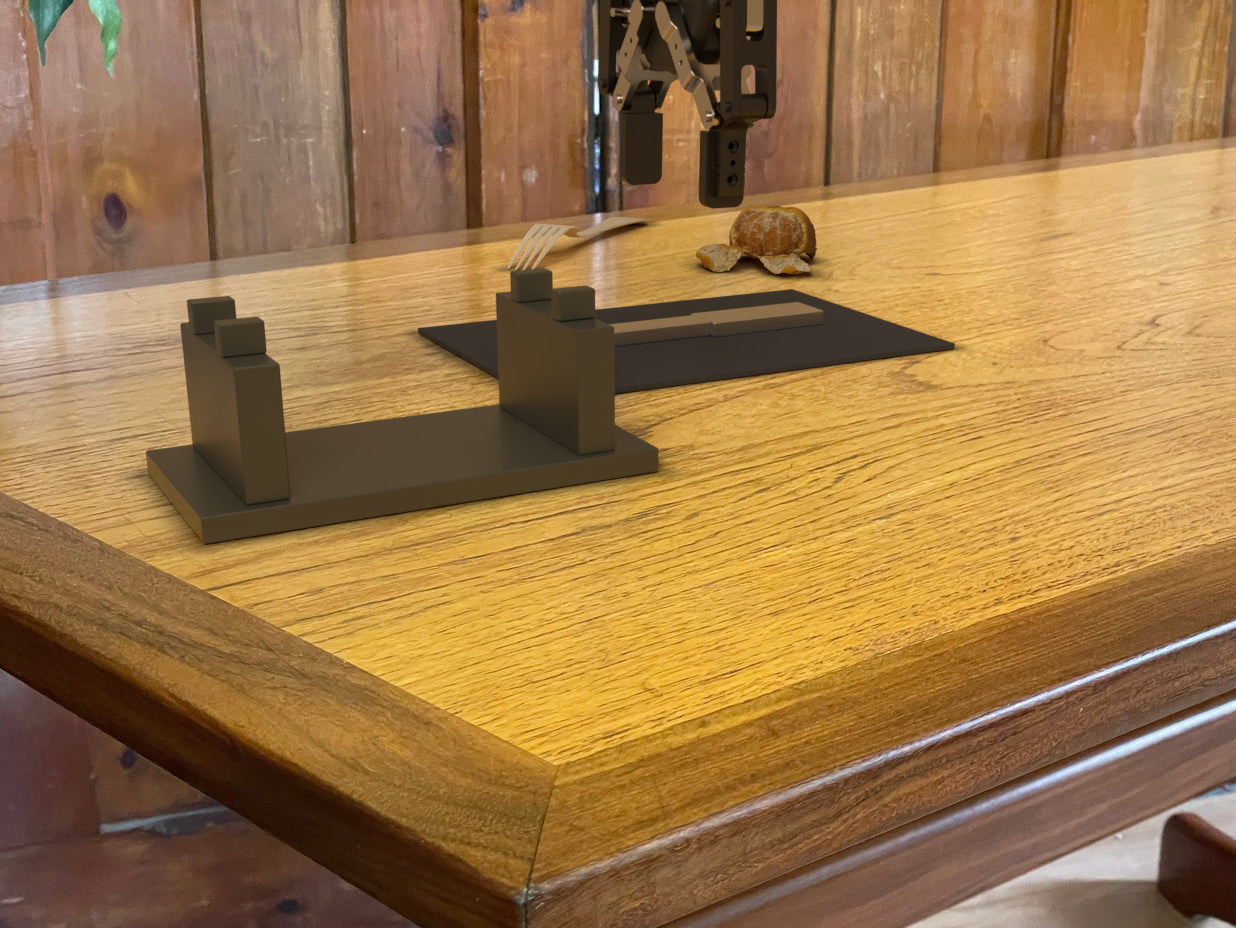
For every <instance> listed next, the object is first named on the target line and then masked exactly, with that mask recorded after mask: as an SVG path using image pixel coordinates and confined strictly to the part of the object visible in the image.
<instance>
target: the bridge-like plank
mask: <svg viewBox="0 0 1236 928" xmlns="http://www.w3.org/2000/svg"><path fill="white" fill-rule="evenodd" d="M822 324H823V310H820V309H817V308H814V307H811V306H808V305H805V304H802V303H800V302H793V303H784V304H775V305H766V306H756V307H747V308H738V309H729V310H720V311H710V312H701V313H692V314H691V316H681V317H672V318H663V319H654V320H645V321H636V322H626V323H617V324H608V325H611V326H613V327H614V347H618V346H626V345H635V344H643V343H652V342H661V341H669V340H678V339H686V338H695V337H704V336H709V335H710V336H713V337H721V336H729V335H738V334H746V333H755V332H764V331H772V330H781V329H789V328H798V327H806V326H815V325H822Z"/></svg>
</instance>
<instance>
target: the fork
mask: <svg viewBox="0 0 1236 928" xmlns="http://www.w3.org/2000/svg"><path fill="white" fill-rule="evenodd" d="M649 221H650V219H648V218H643V217H642V218H641V217H629V216H628V217H625V216H611V217H609V218H606V219H604V220H603V221H601V222H599V223H597V224H595V225H594V226H592V227H590V228H587V229H585V230H583V231H582V228H581V227H578V226H576V225H564V224H549V223H535V224H534V225H532V227H530V229H529V230H528V231H527V232H526V234H525V235H524V237H523V238H522V240H521V241H520V243H519V245H518V247H517V248H516V250H515V252H514V254H513V256H512V258H511V260H510V262H509V263H508V266H507V267H506V269H507V270H510V269H511V267H512V265H513V264H514V262H515V261H516V259H517V258H518V257H519V255H520V254H521V252H522V251H523V249H524V248H525V247H526V246H527V245H528V243H529V242H530V243H529V245H528V246H527V247H526V249H525V251H524V252H523V254H522V256H521V257H520V260H519V261H518V263H517V265H516V266H515V269H514V270H515V271H517V270H518V269H519V268H520V266H521V265H522V264H523V262H524V261H525V259H526V258H527V256H528V255H529V253H530V252H531V251H532V250H533V251H532V252H531V254H530V256H529V258H528V259H527V260H526V263H525V264H524V266H523V267H522V270H527V268H528V266H529V265H530V263H531V262H532V261H533V259H534V258H535V256H536V255H537V254H538V253H539V251H540V250H541V249H542V248H543V249H542V250H541V252H540V253H539V256H537V259H536V260H535V262H534V263H533V264H532V267H531V268H530V269H536V267H537V266H538V265H539V264H540V262H541V261H542V260H543V258H544V257H545V256H546V255H547V253H548V252H549V251H550V250H551V249H552V247H553V246H554V245H555V244H556V243H557V242H558V240H559V239H560V238H561V237H563V235H564V236H566V237H569V238H576V239H577V238H578V239H581V238H583V239H585V238H587V237H592V236H594V235H598V234H600V233H604V232H606V231H607V232H608V231H609V230H612V229H616V228H620V227H624V226H628V225H632V224H638V223H639V224H644V223H645V224H647V223H649ZM531 239H532V240H531ZM530 240H531V241H530ZM539 240H540V241H539ZM547 241H548V242H547ZM536 244H537V245H536ZM545 244H546V245H545ZM544 245H545V246H544ZM543 246H544V247H543ZM534 247H535V248H534Z"/></svg>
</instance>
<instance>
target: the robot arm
mask: <svg viewBox="0 0 1236 928" xmlns="http://www.w3.org/2000/svg"><path fill="white" fill-rule="evenodd" d="M599 3H600V4H599V5H600V6H599V30H598V31H599V33H598V34H599V35H598V36H599V37H598V40H599V41H598V64H597V65H598V69H597V70H598V71H597V87H598V91H599V93H600V95H601V96H610V97H612V104H613V107H614V109H615V111H617V112H620V116H619V117H620V120H619V121H620V128H619V130H620V131H619V136H620V137H619V178H620V180H621V181H622V182H623V183H624V184H628V185H631V186H641V185H643V186H644V185H657V184H658V183H659V182H660V181H661V179H662V177H663V143H664V142H663V137H664V113H663V112H658V111H660V110H661V109H662V107H663V105H664V102H665V101H666V97H667V96H668V93H669V90H670V88H671V85H672V83H673V82H675V81H679V84H680V86H681V88H682V89H683V90H684V91H686V92H688V93H690V94H691V96H692V97H693V100H694V102H695V106H696V109H697V113H698V115H699V118H700V122H701V124H702V127H703V128H704V129H705V130H703V129H702V130H699V158H698V159H699V160H698V163H699V164H698V165H699V166H698V202H699V204H700V205H701V206H703V207H706V208H709V209H729V208H730V209H731V208H738V207H740V205H741V204H742V203H743V201H744V196H745V194H744V193H745V185H746V184H745V183H746V182H745V181H746V179H745V178H746V176H745V173H746V150H747V134H748V130H749V129H752V128H753V127H754V126H755V125H756V123H757V122H758V121H761V120H772V119H773V118H774V117H775V115H776V112H777V79H778V77H777V76H778V75H777V73H778V70H777V64H778V63H777V62H778V61H777V60H778V0H600V1H599ZM748 37H749V39H748ZM618 52H619V53H618ZM617 53H618V55H617ZM617 65H618V67H619V69H620V71H617ZM751 66H752V67H753V68H754V93H753V92H750V89H749V86H748V83H747V80H748V79H749V77H750V76H751V74H752V69H751ZM716 91H717V92H718V91H719V101H718V97H717V94H716Z"/></svg>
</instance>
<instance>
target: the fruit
mask: <svg viewBox="0 0 1236 928" xmlns="http://www.w3.org/2000/svg"><path fill="white" fill-rule="evenodd" d="M728 240H729V243H710V244H706V245H703V246H701V247H700V248H699V249H697V251H696V252H695V256H696V258H697V259H699V261H701V264H702V266H703V267H704V268H708V269H709V270H710V271H712V272H718V273H722V272H726V271H728V272H730V269H732V268H733V267H734V266H735V265H736V264H737V263H738V262H739V259H740V258H741V255H743V254H744V255H746V256H747V258H748V257H749V258H750V257H751V258H752V259H758V260H760V262H761V263H762V264H763V267H764V268H766V269H767V270H768V271H769V272H770V273H772V274H774V275H777V274H778V275H779V274H781V273H783V274H787V275H799V274H802V273H807V272H812V273H813V272H814V269H813V268H812V267H810V265H809V263H807V262H806V261H805V260H802V259H801V256H802V255H803V254H805V255H806V256H807V257H808V260H813V259H814V258H815V256H816V254H817V253H816V252H817V250H818V247H817V237H816V229H815V226H814V223H813V222H812V221H811V219H810V217H809V215H807V214H806V212H805V211H803V210H802V209H801V208H798V207H796V206H780V205H751V206H748V207H746V208H744V209H742V211H740V213H738V215H737V217H736V218H735V220H734V221H733V223H732V226H731V227H730V230H729V234H728Z"/></svg>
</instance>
